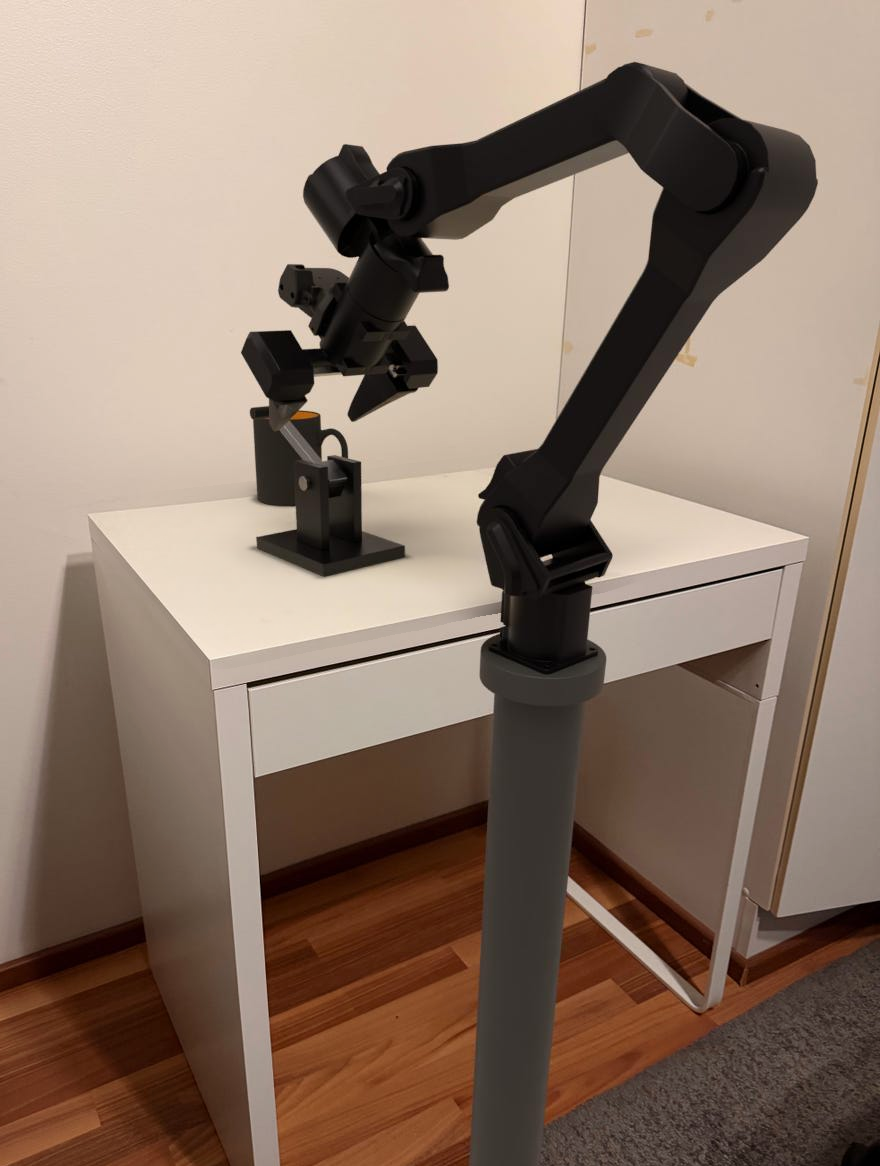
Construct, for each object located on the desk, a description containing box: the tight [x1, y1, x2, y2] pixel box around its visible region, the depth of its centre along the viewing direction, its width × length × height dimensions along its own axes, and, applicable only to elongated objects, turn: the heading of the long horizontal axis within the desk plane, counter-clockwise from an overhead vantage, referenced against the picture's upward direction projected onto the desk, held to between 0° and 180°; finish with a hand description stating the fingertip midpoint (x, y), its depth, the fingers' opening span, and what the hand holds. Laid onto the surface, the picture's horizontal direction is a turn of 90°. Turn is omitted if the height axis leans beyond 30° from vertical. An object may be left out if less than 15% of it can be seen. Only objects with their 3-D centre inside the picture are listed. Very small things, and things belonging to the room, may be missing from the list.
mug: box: [252, 409, 349, 507], centre depth 108 cm, size 8×12×10 cm
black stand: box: [255, 454, 406, 577], centre depth 87 cm, size 12×10×9 cm
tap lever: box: [249, 405, 347, 498], centre depth 88 cm, size 13×5×2 cm, turn 39°
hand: (313, 422), depth 85 cm, fingers open, 9 cm apart
